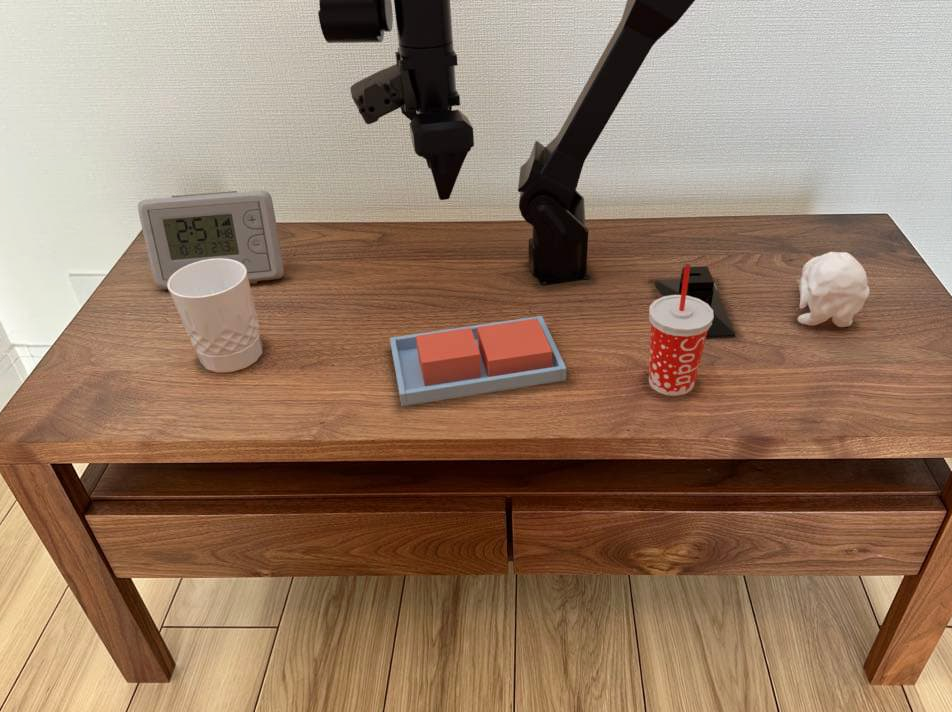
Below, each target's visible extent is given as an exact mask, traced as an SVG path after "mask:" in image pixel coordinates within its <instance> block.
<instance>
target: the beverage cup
mask: <svg viewBox="0 0 952 712" xmlns="http://www.w3.org/2000/svg"><path fill="white" fill-rule="evenodd" d="M684 267H685V271H684V278H683V285H682V292H681V295H670V296H664V297H663V296H662V297H659V298H657V299H655V300H654V301H652V303H651V304H650V305H649V308H648V321H649V322H650V343H649V345H650V346H649V365H648V366H649V369H648V383H649V386H650V387H651V389H653V390H654V391H656V393H658V394H659V393H660V394H663V395H666V396H673V397H675V396H682V395H686V394H688V393H690V392H691V391H692V390H693V388H694V387H695V384H696V380H697V376H698V371H699V367H700V363H701V360H702V355H703V351H704V347H705V343H706V339H707V338H706V336H707V332H708V329H709V328H710V326H711V325H712V321H713V318H714V316H713V310H712V308H711V307H710V306H709V305H708V304H707V303H705V302H704V301H702V300H700V299H698V298H694V297H691V296H686V293H687V286H688V279H689V273H690V267H691V264H690V263H686V264H684Z"/></svg>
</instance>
